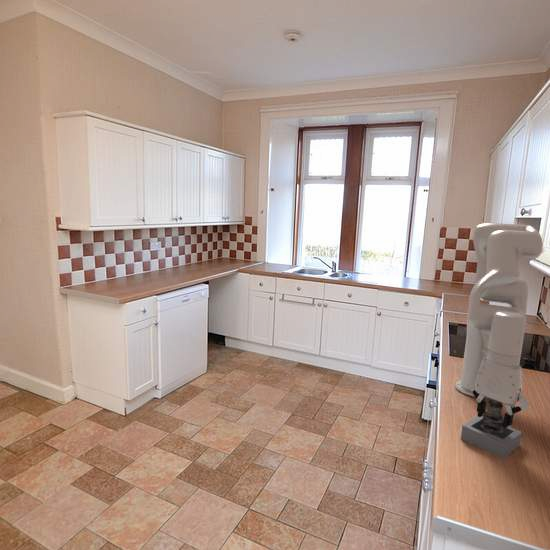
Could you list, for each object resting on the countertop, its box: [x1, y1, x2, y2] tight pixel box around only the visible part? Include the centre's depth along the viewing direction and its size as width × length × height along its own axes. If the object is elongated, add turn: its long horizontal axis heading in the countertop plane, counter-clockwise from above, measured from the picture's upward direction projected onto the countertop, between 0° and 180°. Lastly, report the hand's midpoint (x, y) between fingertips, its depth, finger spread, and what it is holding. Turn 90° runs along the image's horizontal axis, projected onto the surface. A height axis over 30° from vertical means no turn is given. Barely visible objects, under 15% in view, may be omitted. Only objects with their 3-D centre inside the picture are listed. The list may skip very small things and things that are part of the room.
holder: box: [460, 416, 523, 460], centre depth 105 cm, size 11×11×4 cm
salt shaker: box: [481, 399, 505, 434], centre depth 104 cm, size 6×6×12 cm
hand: (493, 420), depth 104 cm, fingers closed on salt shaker, 5 cm apart
